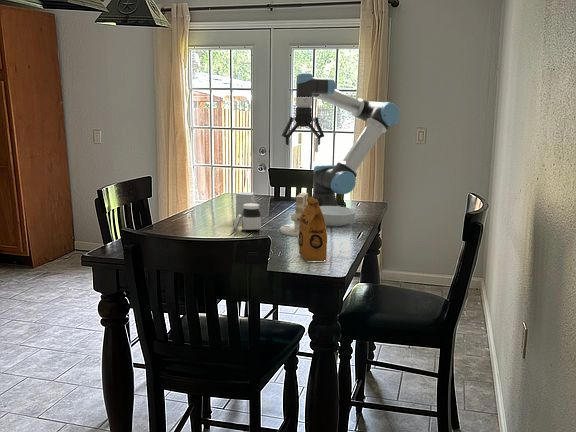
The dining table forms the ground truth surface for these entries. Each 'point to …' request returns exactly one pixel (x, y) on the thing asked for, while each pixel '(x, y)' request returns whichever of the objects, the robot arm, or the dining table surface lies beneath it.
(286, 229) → the dial plate
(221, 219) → the dining table surface
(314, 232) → the coffee package
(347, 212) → the serving bowl
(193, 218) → the dining table surface
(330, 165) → the robot arm
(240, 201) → the supplement box
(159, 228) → the dining table surface
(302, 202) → the lever handle
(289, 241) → the dining table surface
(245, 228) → the spread jar
